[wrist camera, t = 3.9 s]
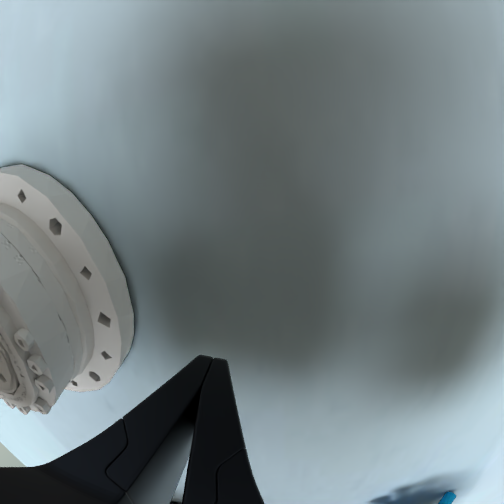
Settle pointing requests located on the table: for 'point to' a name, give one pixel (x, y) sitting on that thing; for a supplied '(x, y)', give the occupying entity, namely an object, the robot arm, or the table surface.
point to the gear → (447, 498)
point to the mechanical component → (56, 294)
